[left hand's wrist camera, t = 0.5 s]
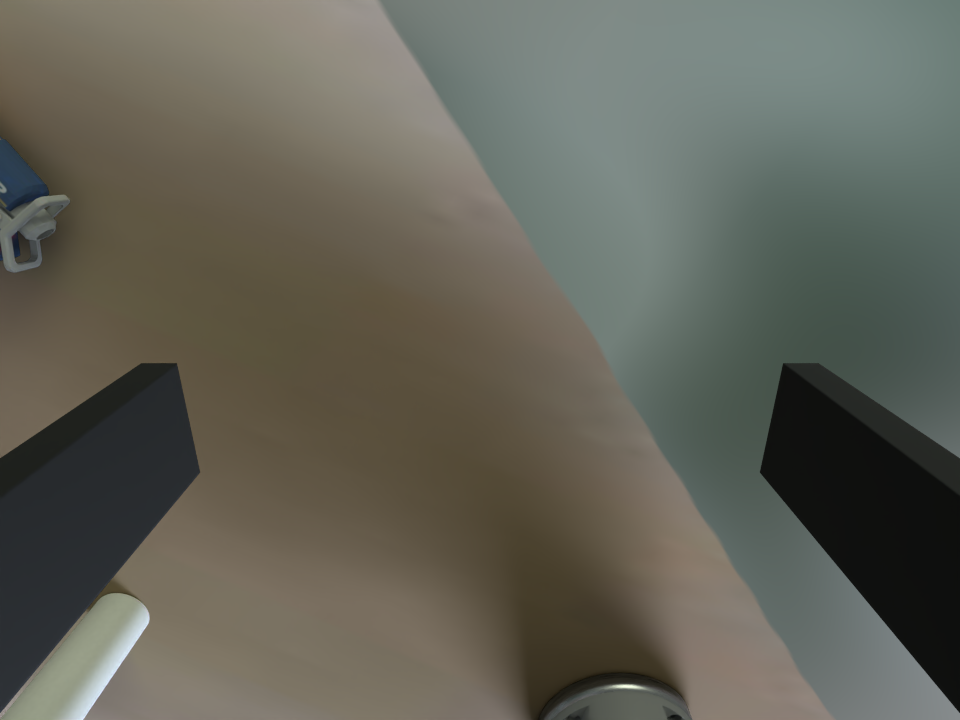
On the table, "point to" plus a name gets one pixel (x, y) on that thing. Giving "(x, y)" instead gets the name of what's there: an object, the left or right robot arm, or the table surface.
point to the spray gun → (24, 209)
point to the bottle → (83, 662)
